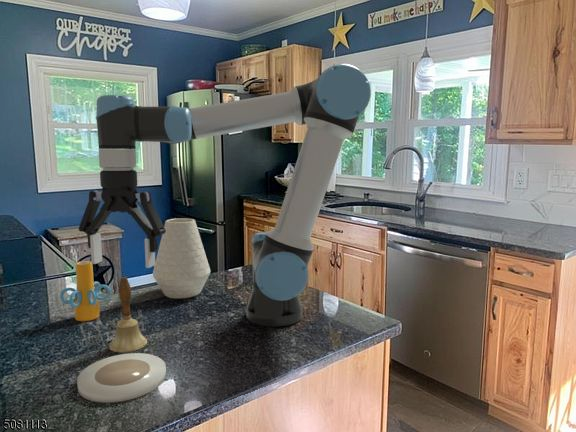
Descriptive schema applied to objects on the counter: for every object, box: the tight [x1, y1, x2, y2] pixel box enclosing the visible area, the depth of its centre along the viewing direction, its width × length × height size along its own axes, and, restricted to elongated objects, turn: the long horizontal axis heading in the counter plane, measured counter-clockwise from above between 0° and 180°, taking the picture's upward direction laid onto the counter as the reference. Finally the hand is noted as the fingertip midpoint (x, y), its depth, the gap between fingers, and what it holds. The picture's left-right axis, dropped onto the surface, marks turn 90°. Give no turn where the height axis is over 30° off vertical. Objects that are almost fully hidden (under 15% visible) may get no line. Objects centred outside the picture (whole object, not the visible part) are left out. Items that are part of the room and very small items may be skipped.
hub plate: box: [76, 352, 167, 404], centre depth 85 cm, size 16×16×2 cm
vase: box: [152, 217, 211, 300], centre depth 135 cm, size 17×17×23 cm
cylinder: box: [59, 260, 112, 322], centre depth 115 cm, size 12×10×15 cm
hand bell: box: [108, 276, 148, 354], centre depth 99 cm, size 8×8×16 cm
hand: (123, 264), depth 98 cm, fingers open, 13 cm apart
